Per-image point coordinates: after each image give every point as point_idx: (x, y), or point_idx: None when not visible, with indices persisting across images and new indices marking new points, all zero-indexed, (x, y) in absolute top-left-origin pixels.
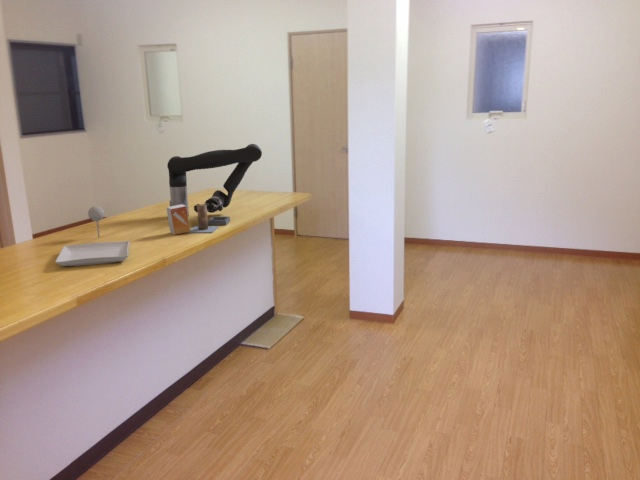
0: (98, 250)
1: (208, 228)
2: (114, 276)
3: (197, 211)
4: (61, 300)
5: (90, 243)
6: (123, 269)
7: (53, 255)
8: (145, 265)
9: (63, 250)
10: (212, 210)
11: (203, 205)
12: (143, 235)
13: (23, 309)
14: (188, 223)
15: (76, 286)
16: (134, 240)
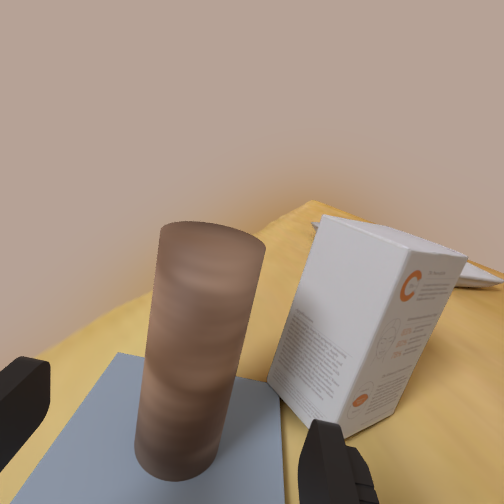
0: None
1: (129, 448)
2: (294, 217)
3: (300, 467)
4: (306, 205)
5: (463, 275)
6: (297, 224)
7: (494, 287)
8: (272, 224)
9: (466, 264)
10: (47, 382)
11: (195, 230)
12: (490, 392)
13: (324, 206)
14: (283, 331)
15: (318, 215)
16: (442, 335)
